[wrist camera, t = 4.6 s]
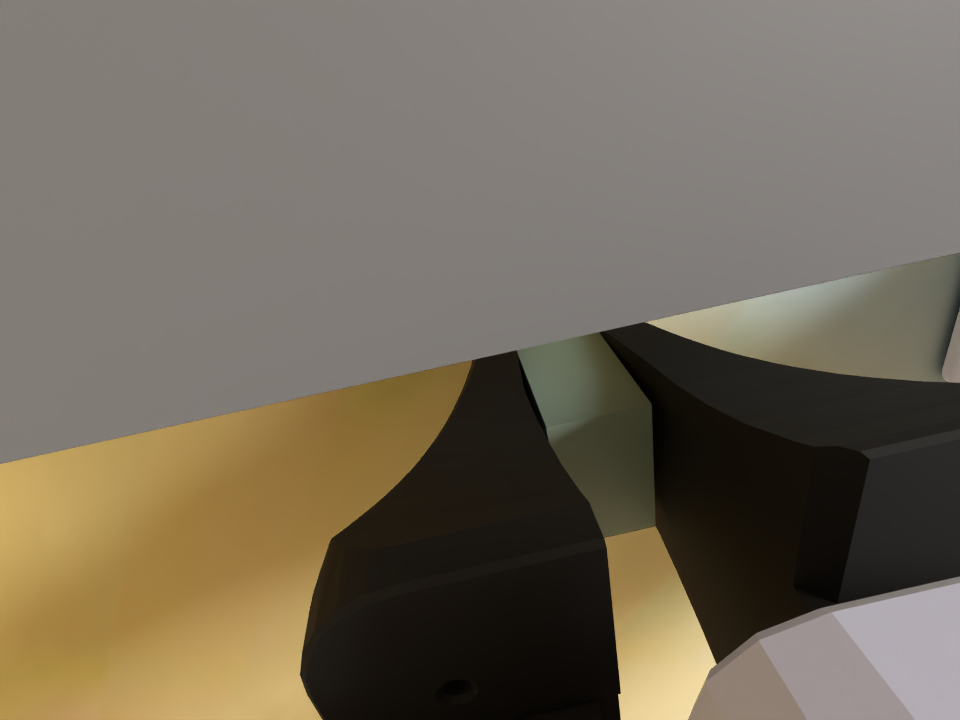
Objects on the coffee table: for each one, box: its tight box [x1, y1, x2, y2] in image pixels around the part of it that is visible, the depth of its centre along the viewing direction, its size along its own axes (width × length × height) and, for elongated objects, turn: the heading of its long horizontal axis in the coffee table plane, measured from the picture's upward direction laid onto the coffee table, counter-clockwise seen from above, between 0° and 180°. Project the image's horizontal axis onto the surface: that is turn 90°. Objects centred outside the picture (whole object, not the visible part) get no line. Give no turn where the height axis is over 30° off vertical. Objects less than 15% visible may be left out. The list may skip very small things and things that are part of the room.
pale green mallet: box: [517, 332, 656, 538], centre depth 8 cm, size 4×13×6 cm, turn 11°
